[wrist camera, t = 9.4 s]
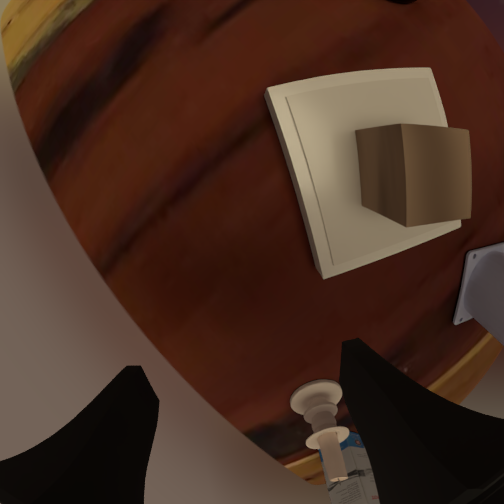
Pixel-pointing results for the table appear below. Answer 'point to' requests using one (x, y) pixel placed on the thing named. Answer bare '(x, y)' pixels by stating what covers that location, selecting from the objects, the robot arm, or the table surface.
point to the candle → (323, 423)
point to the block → (415, 173)
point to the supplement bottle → (404, 1)
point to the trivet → (349, 158)
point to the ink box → (353, 475)
